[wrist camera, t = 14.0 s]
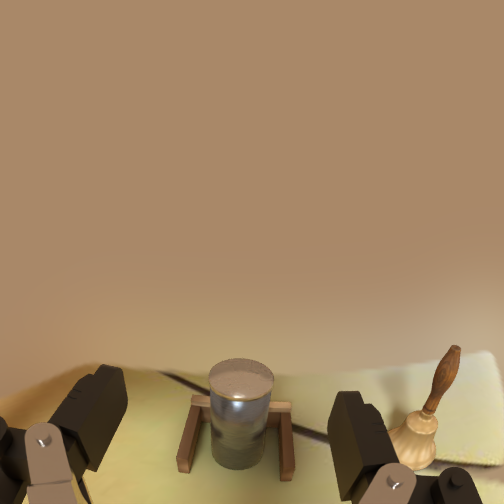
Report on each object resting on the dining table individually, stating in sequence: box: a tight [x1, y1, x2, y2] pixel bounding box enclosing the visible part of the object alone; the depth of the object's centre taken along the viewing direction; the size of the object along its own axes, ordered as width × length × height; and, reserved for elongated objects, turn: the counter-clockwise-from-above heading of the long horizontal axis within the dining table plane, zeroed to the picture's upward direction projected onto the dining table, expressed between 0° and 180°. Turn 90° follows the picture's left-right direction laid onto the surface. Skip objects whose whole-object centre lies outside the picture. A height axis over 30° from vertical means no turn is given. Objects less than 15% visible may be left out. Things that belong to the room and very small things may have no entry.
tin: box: [209, 359, 274, 470], centre depth 30 cm, size 6×6×12 cm
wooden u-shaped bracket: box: [176, 395, 295, 481], centre depth 31 cm, size 12×10×4 cm
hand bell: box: [387, 345, 461, 471], centre depth 28 cm, size 8×8×16 cm
